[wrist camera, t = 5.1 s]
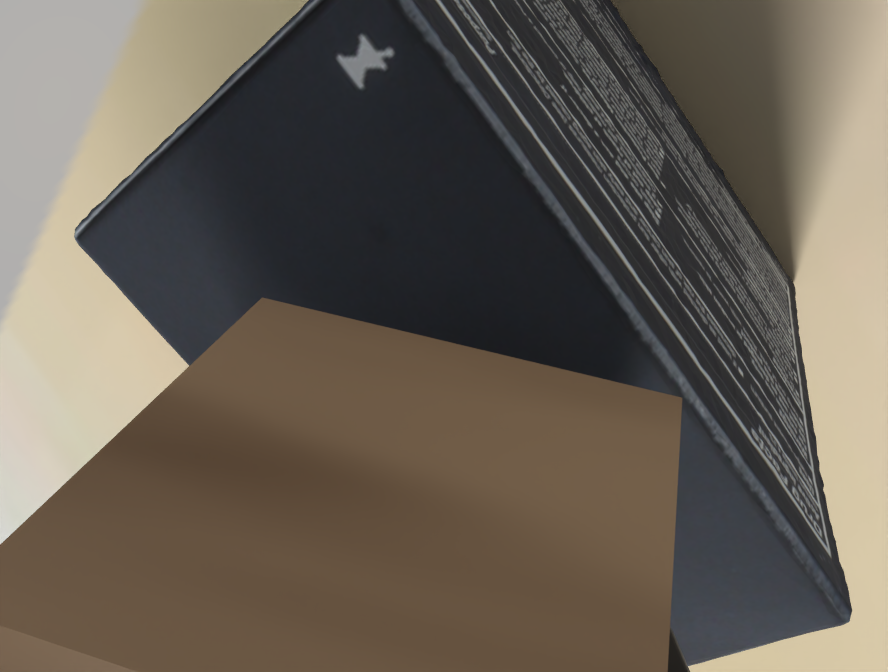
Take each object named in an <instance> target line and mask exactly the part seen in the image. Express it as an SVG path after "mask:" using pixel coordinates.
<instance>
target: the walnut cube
mask: <svg viewBox="0 0 888 672" xmlns="http://www.w3.org/2000/svg"><path fill="white" fill-rule="evenodd" d="M681 413H682V398H681V397H677V396H673V395H669V394H665V393H660V392H656V391H652V390H648V389H644V388H640V387H635V386H631V385H627V384H623V383H619V382H614V381H610V380H606V379H602V378H598V377H593V376H589V375H585V374H581V373H577V372H572V371H568V370H564V369H560V368H556V367H551V366H547V365H543V364H539V363H535V362H531V361H526V360H522V359H518V358H514V357H510V356H505V355H501V354H497V353H493V352H489V351H484V350H480V349H476V348H472V347H468V346H463V345H459V344H455V343H451V342H447V341H442V340H438V339H434V338H430V337H426V336H422V335H417V334H413V333H409V332H405V331H401V330H396V329H392V328H388V327H384V326H380V325H375V324H371V323H367V322H363V321H359V320H354V319H350V318H346V317H342V316H338V315H334V314H329V313H325V312H321V311H317V310H313V309H308V308H304V307H300V306H296V305H292V304H287V303H283V302H279V301H275V300H271V299H266V298H261V299H260V300H259V301H258V302H257V303H256V304H255V305H254V306H253V307H252V308H250V309H249V310H248V311H247V312H246V313H245V314H244V315H243V316H242V317H241V318H240V319H239V320H238V321H237V322H236V323H235V324H234V325H232V326H231V327H230V328H229V329H228V330H227V331H226V332H225V333H224V334H223V335H222V336H221V337H220V338H219V339H218V340H217V341H216V342H214V343H213V344H212V345H211V346H210V347H209V348H208V349H207V350H206V351H205V352H204V353H203V354H202V355H201V356H200V357H199V358H198V359H196V360H195V361H194V362H193V363H192V364H191V365H190V366H189V367H188V368H187V369H186V370H185V371H184V372H183V373H182V374H181V375H180V376H178V377H177V378H176V379H175V380H174V381H173V382H172V383H171V384H170V385H169V386H168V387H167V388H166V389H165V390H164V391H163V392H162V393H160V394H159V395H158V396H157V397H156V398H155V399H154V400H153V401H152V402H151V403H150V404H149V405H148V406H147V407H146V408H145V409H144V410H142V411H141V412H140V413H139V414H138V415H137V416H136V417H135V418H134V419H133V420H132V421H131V422H130V423H129V424H128V425H127V426H126V427H125V428H123V429H122V430H121V431H120V432H119V433H118V434H117V435H116V436H115V437H114V438H113V439H112V440H111V441H110V442H109V443H108V444H107V445H105V446H104V447H103V448H102V449H101V450H100V451H99V452H98V453H97V454H96V455H95V456H94V457H93V458H92V459H91V460H90V461H89V462H87V463H86V464H85V465H84V466H83V467H82V468H81V469H80V470H79V471H78V472H77V473H76V474H75V475H74V476H73V477H72V478H71V479H69V480H68V481H67V482H66V483H65V484H64V485H63V486H62V487H61V488H60V489H59V490H58V491H57V492H56V493H55V494H54V495H53V496H51V497H50V498H49V499H48V500H47V501H46V502H45V503H44V504H43V505H42V506H41V507H40V508H39V509H38V510H37V511H36V512H35V513H33V514H32V515H31V516H30V517H29V518H28V519H27V520H26V521H25V522H24V523H23V524H22V525H21V526H20V527H19V528H18V529H17V530H15V531H14V532H13V533H12V534H11V535H10V536H9V537H8V538H7V539H6V540H5V541H4V542H3V543H2V544H1V545H0V672H668V654H669V636H670V617H671V599H672V580H673V562H674V543H675V524H676V506H677V487H678V469H679V450H680V432H681Z"/></svg>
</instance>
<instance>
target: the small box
mask: <svg viewBox="0 0 888 672" xmlns="http://www.w3.org/2000/svg"><path fill="white" fill-rule="evenodd" d="M74 237H75V240H76V241H77V243H78V245H79V246H80V247H81V248H82V249H83V250H84V251H85V252H86V253H87V254H88V255H89V256H90V257H91V258H92V259H93V260H94V261H95V263H96V264H97V265H98V266H99V267H100V268H101V269H102V271H103V272H104V273H105V274H106V275H107V276H108V277H109V278H110V279H111V280H112V281H113V282H114V283H115V284H116V285H117V287H118V288H119V289H120V290H121V291H122V292H123V294H124V295H125V296H126V297H127V298H128V299H129V300H130V301H131V302H132V304H133V305H134V306H135V307H136V308H137V309H138V310H139V311H140V312H141V314H142V315H143V316H144V317H145V318H146V319H147V320H148V321H149V322H150V324H151V325H152V326H153V327H154V328H155V329H156V330H157V331H158V332H159V333H160V334H161V336H162V337H163V338H164V339H165V340H166V341H167V342H168V343H169V344H170V345H171V346H172V347H173V348H174V350H175V351H176V352H177V353H178V354H179V355H180V356H181V357H182V358H183V359H184V360H185V361H186V363H187V364H188V365H189V366H190V365H191V364H192V363H193V362H194V361H195V360H196V359H198V358H199V357H200V356H201V355H202V354H203V353H204V352H205V351H206V350H207V349H208V348H209V347H210V346H211V345H212V344H213V343H214V342H216V341H217V340H218V339H219V338H220V337H221V336H222V335H223V334H224V333H225V332H226V331H227V330H228V329H229V328H230V327H231V326H232V325H234V324H235V323H236V322H237V321H238V320H239V319H240V318H241V317H242V316H243V315H244V314H245V313H246V312H247V311H248V310H249V309H250V308H252V307H253V306H254V305H255V304H256V303H257V302H258V301H259V300H260V299H261V298H266V299H271V300H275V301H279V302H283V303H287V304H292V305H296V306H300V307H304V308H308V309H313V310H317V311H321V312H325V313H329V314H334V315H338V316H342V317H346V318H350V319H354V320H359V321H363V322H367V323H371V324H375V325H380V326H384V327H388V328H392V329H396V330H401V331H405V332H409V333H413V334H417V335H422V336H426V337H430V338H434V339H438V340H442V341H447V342H451V343H455V344H459V345H463V346H468V347H472V348H476V349H480V350H484V351H489V352H493V353H497V354H501V355H505V356H510V357H514V358H518V359H522V360H526V361H531V362H535V363H539V364H543V365H547V366H551V367H556V368H560V369H564V370H568V371H572V372H577V373H581V374H585V375H589V376H593V377H598V378H602V379H606V380H610V381H614V382H619V383H623V384H627V385H631V386H635V387H640V388H644V389H648V390H652V391H656V392H660V393H665V394H669V395H673V396H677V397H681V398H682V413H681V432H680V450H679V469H678V487H677V506H676V524H675V543H674V562H673V580H672V599H671V617H670V627H671V629H672V631H673V633H674V635H675V637H676V640H677V642H678V645H679V647H680V649H681V652H682V654H683V656H684V659H685V661H686V664H687V666H690V665H694V664H698V663H702V662H705V661H709V660H712V659H715V658H719V657H723V656H727V655H730V654H734V653H738V652H741V651H745V650H748V649H752V648H756V647H759V646H763V645H766V644H770V643H773V642H776V641H780V640H783V639H787V638H791V637H795V636H798V635H802V634H806V633H810V632H814V631H819V630H823V629H827V628H832V627H837V626H841V625H844V624H846V623H848V622H849V621H850V617H851V613H852V608H851V603H850V597H849V591H848V587H847V584H846V581H845V575H844V571H843V569H842V567H841V564H840V562H839V557H838V551H837V547H836V541H835V538H834V536H833V530H832V526H831V523H830V520H829V514H828V509H827V504H826V498H825V494H824V492H823V487H824V484H823V480H822V477H821V474H820V471H819V460H818V456H817V445H816V436H815V433H814V428H813V421H812V415H811V407H810V402H809V396H808V389H807V380H806V375H805V367H804V363H803V359H802V347H801V343H800V336H799V326H798V319H797V308H796V300H795V294H796V292H795V287H794V284H793V282H792V280H791V279H790V277H789V276H788V275H787V274H786V272H785V271H784V269H783V267H782V266H781V264H780V263H779V261H778V259H777V258H776V256H775V254H774V252H773V251H772V249H771V248H770V246H769V244H768V243H767V241H766V240H765V238H764V237H763V235H762V234H761V232H760V230H759V229H758V228H757V226H756V225H755V223H754V221H753V220H752V218H751V217H750V216H749V214H748V212H747V210H746V209H745V208H744V206H743V205H742V203H741V202H740V200H739V199H738V197H737V196H736V194H735V193H734V191H733V190H732V188H731V186H730V184H729V183H728V181H727V180H726V178H725V176H724V173H723V170H722V169H721V168H719V166H718V165H717V164H716V163H715V162H714V161H713V159H712V157H711V155H710V153H709V152H708V151H707V149H706V148H705V146H704V145H703V143H702V141H701V139H700V137H699V136H698V135H697V133H696V132H695V131H694V129H693V127H692V126H691V125H690V123H689V122H688V120H687V119H686V117H685V115H684V114H683V112H682V111H681V109H680V108H679V106H678V105H677V103H676V101H675V99H674V97H673V96H672V95H671V93H670V92H669V91H668V89H667V87H666V86H665V84H664V83H663V81H662V80H661V78H660V75H659V73H658V70H657V69H656V67H655V66H654V65H653V64H652V62H651V61H650V60H649V58H648V57H647V55H646V54H645V53H644V52H643V49H642V46H640V45H639V44H638V43H637V41H636V39H635V38H634V37H633V35H632V34H631V32H630V30H629V29H628V27H627V25H626V24H625V22H624V21H623V20H622V18H621V17H620V15H619V12H618V10H617V9H616V8H615V7H614V6H613V4H612V2H611V1H610V0H309V1H308V2H307V3H306V4H305V5H304V6H303V7H302V9H301V10H300V11H299V12H298V13H297V14H296V15H295V16H293V17H292V18H291V19H290V20H289V21H288V22H287V23H286V24H285V25H284V26H283V27H282V28H281V29H280V30H279V31H278V32H277V33H276V34H275V35H274V36H272V37H271V38H270V39H269V41H268V42H267V43H266V44H265V45H264V46H263V47H261V48H260V49H259V50H258V51H257V52H256V53H255V54H254V55H253V56H252V57H251V58H250V59H249V60H248V61H246V62H245V63H244V64H243V65H242V66H241V67H240V68H239V69H238V70H237V71H235V72H234V73H233V74H232V75H231V76H230V77H229V78H228V79H227V80H226V81H225V82H224V84H223V85H222V86H221V87H220V88H219V89H218V90H217V91H216V92H215V93H214V94H213V95H212V96H211V97H210V98H209V99H208V100H207V101H206V102H205V103H204V104H203V105H202V106H201V107H200V108H199V109H198V110H197V111H196V112H195V113H193V114H192V115H191V117H190V118H189V119H188V120H187V121H185V122H184V123H183V124H181V125H180V126H179V127H178V128H177V129H176V130H175V132H174V133H173V134H171V135H170V136H169V137H168V138H167V139H165V140H164V141H163V142H162V143H161V144H160V145H159V147H158V148H157V149H156V150H155V151H153V152H152V153H151V154H150V155H149V156H147V157H146V158H145V159H144V161H143V162H142V163H141V164H140V165H139V166H138V167H137V168H136V169H135V171H134V172H133V173H132V174H131V175H129V176H128V177H127V178H125V179H124V180H123V181H122V182H121V183H120V184H119V185H118V186H117V187H116V188H115V189H114V190H113V191H112V192H111V193H110V194H109V195H108V196H107V198H106V199H105V200H103V201H102V202H101V203H100V204H98V205H97V206H96V207H95V208H93V209H92V210H91V212H90V213H89V214H88V216H87V217H86V218H84V219H83V220H82V221H81V222H80V224H79V225H78V226H77V227H76V229H75V236H74Z"/></svg>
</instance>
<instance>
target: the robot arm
mask: <svg viewBox="0 0 888 672" xmlns="http://www.w3.org/2000/svg"><path fill="white" fill-rule="evenodd" d="M668 672H690V671H689V668H688V666H687V664H686V661H685V659H684V656H683V654H682V652H681V649H680V647H679V645H678V642H677V640H676V637H675V635H674V633H673V631H672V629H671V627H670V636H669V654H668Z"/></svg>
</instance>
